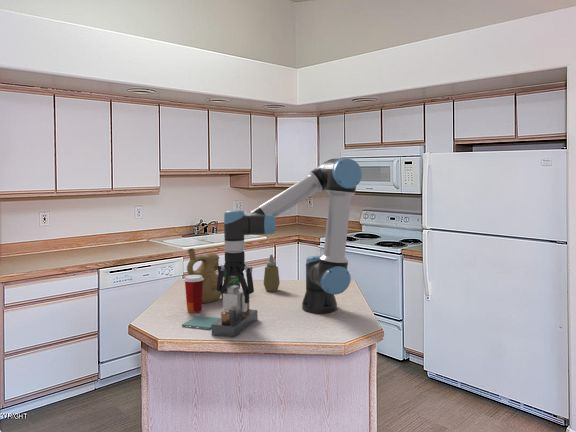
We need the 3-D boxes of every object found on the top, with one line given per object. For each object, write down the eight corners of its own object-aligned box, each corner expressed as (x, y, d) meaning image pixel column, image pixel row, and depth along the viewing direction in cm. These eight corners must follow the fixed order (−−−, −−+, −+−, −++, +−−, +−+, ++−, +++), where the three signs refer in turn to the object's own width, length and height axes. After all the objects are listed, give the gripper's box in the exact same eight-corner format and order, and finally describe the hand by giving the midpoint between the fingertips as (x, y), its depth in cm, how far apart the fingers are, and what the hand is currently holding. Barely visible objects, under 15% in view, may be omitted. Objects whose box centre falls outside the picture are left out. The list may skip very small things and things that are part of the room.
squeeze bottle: (270, 287, 248) (270, 253, 246) (283, 290, 243) (282, 254, 241) (260, 290, 241) (259, 255, 240) (272, 293, 236) (272, 257, 235)
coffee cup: (205, 308, 212) (204, 274, 211) (202, 313, 204) (202, 278, 202) (186, 308, 212) (185, 274, 210) (182, 313, 204) (181, 278, 202)
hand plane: (257, 319, 195) (257, 295, 194) (234, 337, 174) (233, 310, 173) (237, 317, 198) (236, 293, 197) (211, 335, 177) (211, 308, 176)
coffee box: (226, 293, 237) (225, 267, 236) (223, 292, 239) (222, 266, 238) (240, 291, 241) (240, 265, 240) (237, 289, 244) (237, 264, 243)
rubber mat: (223, 320, 194) (223, 318, 194) (209, 329, 183) (209, 327, 183) (197, 317, 198) (197, 315, 198) (181, 326, 187) (181, 324, 187)
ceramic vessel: (231, 297, 229) (230, 245, 226) (202, 307, 213) (200, 251, 210) (204, 292, 238) (203, 242, 236) (174, 302, 222) (173, 248, 220)
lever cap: (247, 304, 189) (247, 284, 188) (237, 310, 180) (237, 289, 179) (233, 302, 191) (233, 282, 190) (223, 309, 182) (222, 288, 181)
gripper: (262, 250, 184) (263, 309, 186) (215, 248, 190) (216, 305, 192) (255, 254, 177) (255, 315, 179) (206, 251, 183) (207, 310, 185)
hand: (235, 310), depth 186 cm, fingers open, 7 cm apart
